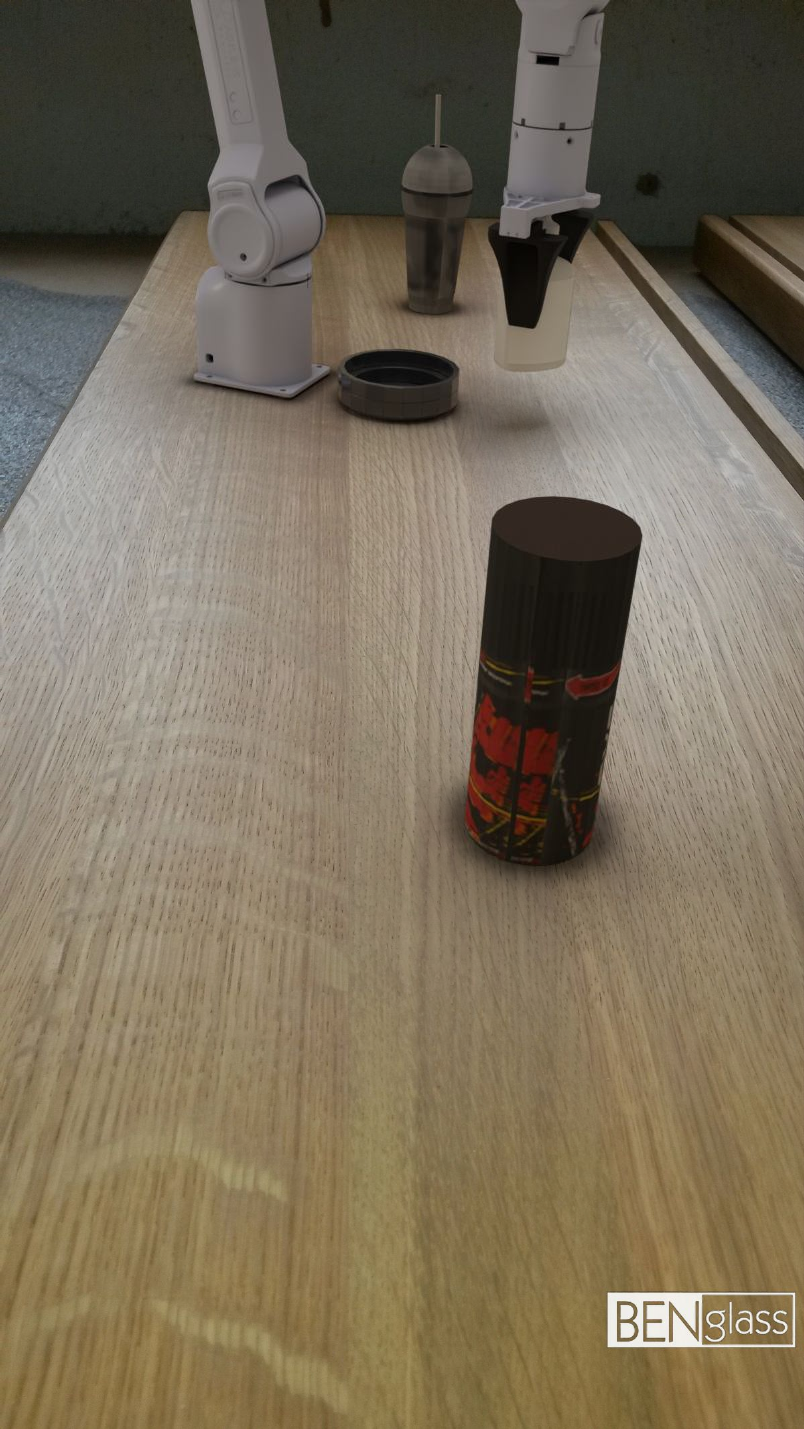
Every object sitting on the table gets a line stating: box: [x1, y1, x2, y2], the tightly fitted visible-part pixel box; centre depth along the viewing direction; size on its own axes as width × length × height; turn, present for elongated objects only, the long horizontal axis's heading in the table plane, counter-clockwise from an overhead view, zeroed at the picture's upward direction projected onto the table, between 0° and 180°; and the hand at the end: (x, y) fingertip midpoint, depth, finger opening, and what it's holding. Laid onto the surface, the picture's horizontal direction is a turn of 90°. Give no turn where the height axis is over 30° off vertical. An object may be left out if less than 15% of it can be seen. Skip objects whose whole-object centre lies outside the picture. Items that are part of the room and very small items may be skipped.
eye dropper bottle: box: [493, 216, 576, 373], centre depth 93 cm, size 4×6×12 cm
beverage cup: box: [399, 94, 475, 315], centre depth 121 cm, size 7×7×20 cm
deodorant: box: [464, 495, 643, 866], centre depth 52 cm, size 6×6×15 cm
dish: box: [337, 348, 461, 422], centre depth 102 cm, size 10×10×3 cm
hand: (532, 317), depth 94 cm, fingers closed on eye dropper bottle, 5 cm apart
